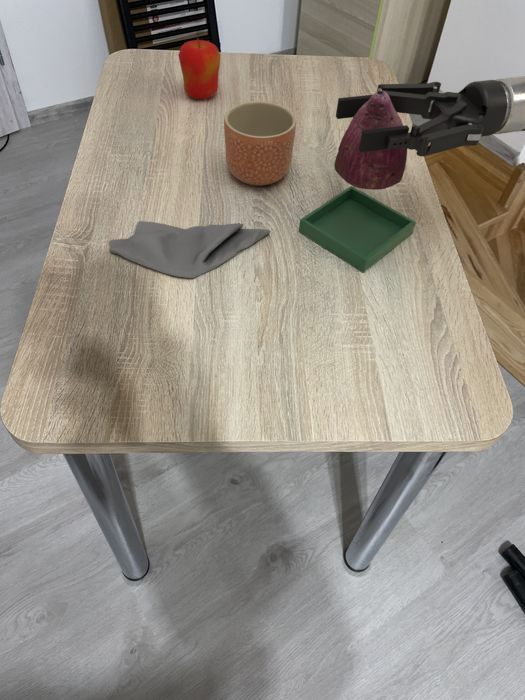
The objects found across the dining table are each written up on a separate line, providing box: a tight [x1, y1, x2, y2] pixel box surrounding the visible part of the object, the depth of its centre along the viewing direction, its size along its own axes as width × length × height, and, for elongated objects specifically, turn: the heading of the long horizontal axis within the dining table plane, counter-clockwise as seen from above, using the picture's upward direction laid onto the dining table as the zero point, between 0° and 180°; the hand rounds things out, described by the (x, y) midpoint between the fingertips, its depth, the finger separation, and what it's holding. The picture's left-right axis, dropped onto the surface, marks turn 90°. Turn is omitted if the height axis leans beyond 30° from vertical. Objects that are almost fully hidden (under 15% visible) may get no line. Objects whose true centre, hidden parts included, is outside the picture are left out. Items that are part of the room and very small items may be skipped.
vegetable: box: [333, 87, 408, 191], centre depth 76 cm, size 10×10×15 cm
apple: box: [178, 37, 221, 100], centre depth 113 cm, size 9×8×12 cm
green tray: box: [298, 185, 417, 273], centre depth 90 cm, size 14×14×3 cm
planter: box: [223, 100, 297, 187], centre depth 96 cm, size 12×12×11 cm
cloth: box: [108, 220, 271, 279], centre depth 86 cm, size 26×14×2 cm, turn 90°
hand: (349, 124), depth 74 cm, fingers closed on vegetable, 8 cm apart
